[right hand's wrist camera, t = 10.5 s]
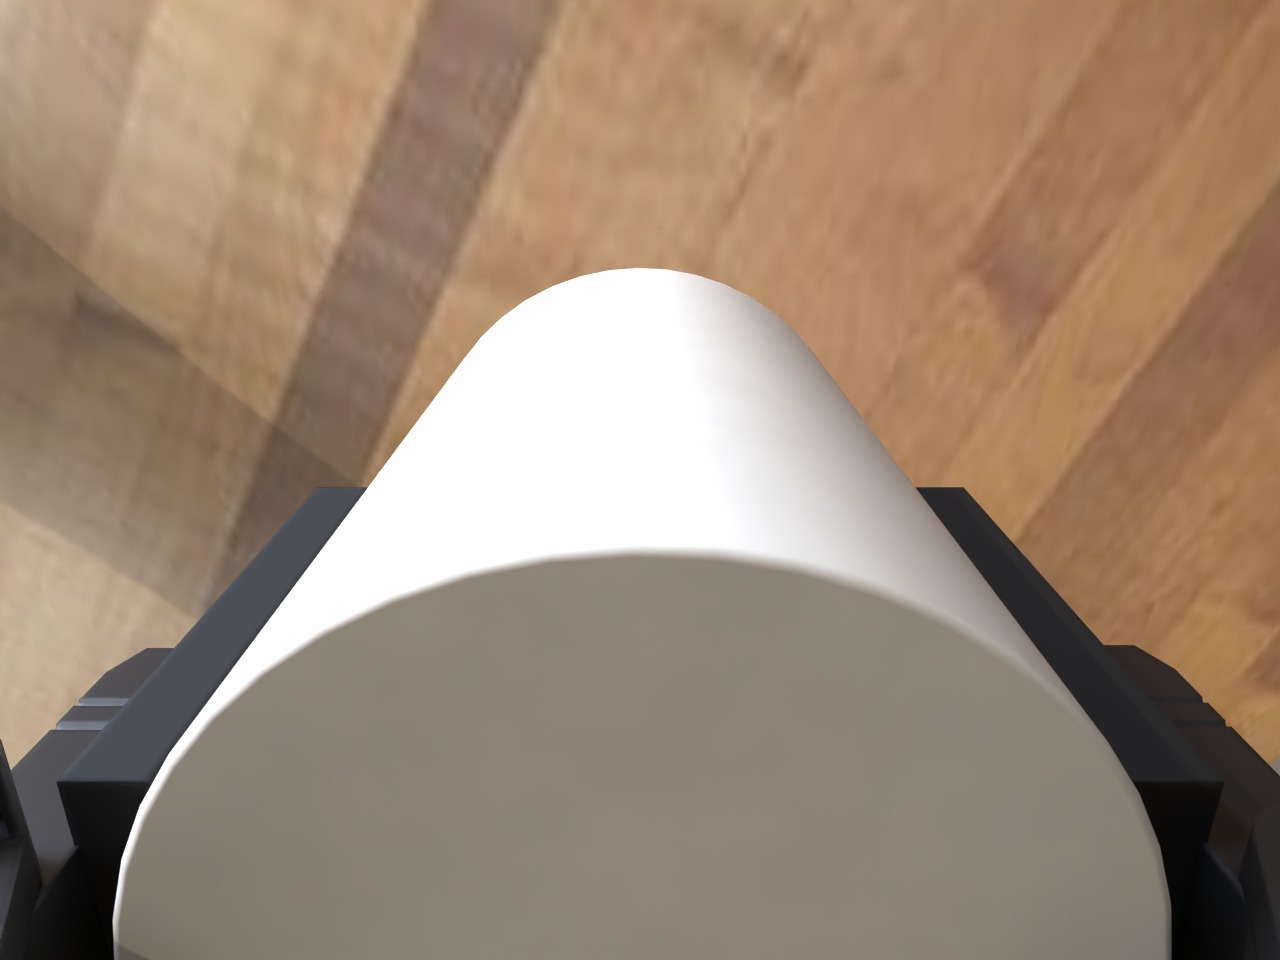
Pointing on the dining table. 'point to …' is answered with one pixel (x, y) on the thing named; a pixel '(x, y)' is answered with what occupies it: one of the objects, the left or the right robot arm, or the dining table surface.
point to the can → (642, 691)
